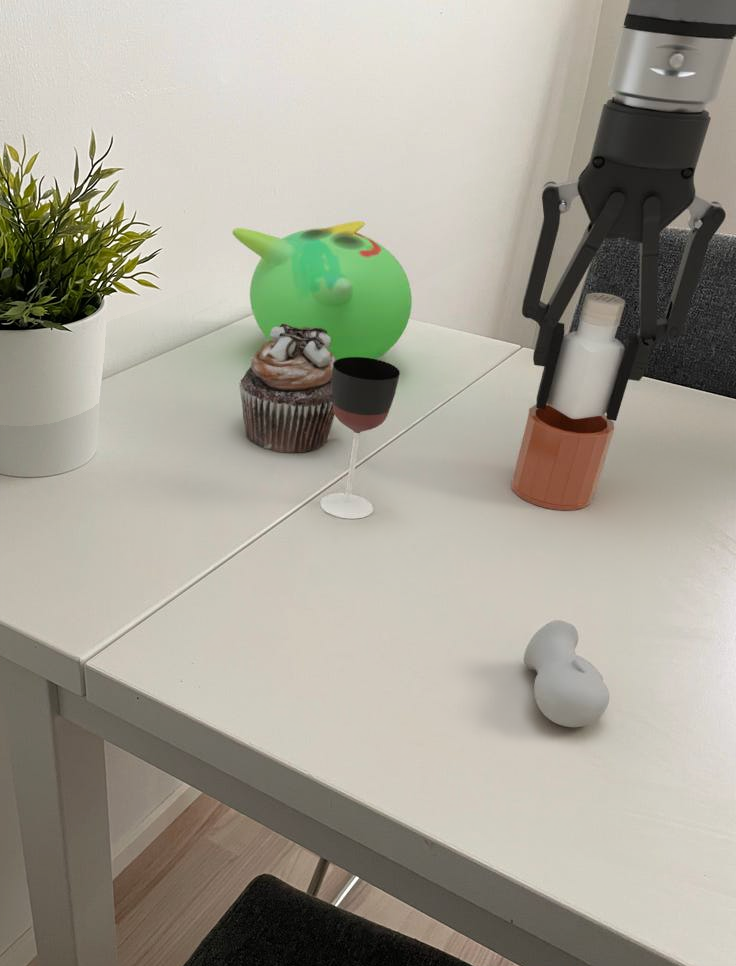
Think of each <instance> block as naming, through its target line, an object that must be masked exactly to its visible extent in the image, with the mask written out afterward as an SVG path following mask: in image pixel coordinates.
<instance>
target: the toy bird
mask: <svg viewBox="0 0 736 966" xmlns="http://www.w3.org/2000/svg"><path fill="white" fill-rule="evenodd" d="M365 225H366V222H365V221H350V222H345V223H340V224H337V225H333V226H328V227H317V228H309V229H305V230H299V231H296V232H293V233H291V234H289V235H287V236H285V237H283V238H280V237H277V236H273V235H270V234H266V233H263V232H259V231H256V230H251V229H248V228H241V227H239V228H234V229H233V230H232V235H233V236H234V238H236V240H237V241H239V242H240V243H241V244H243V245H244V246H245V247H246V248H248V249H249V250H251V251H252V252H253V253H255V254H256V255H258V256H259V257H260V259H259V261H258V263H257V264H256V266H255V269H254V271H253V274H252V278H251V281H250V287H249V299H250V308H251V311H252V314H253V318H254V320H255V322H256V324H257V326H258V327H259V329H260V330H261V332H262V334H263V335H264V336H265V337H266V338H267V339H268V341H269V342H271V339H270V333H271V330H272V328H273V327H280V325H281V324H287V325H290V326H291V327H294V328H303V327H308V328H322V329H325V330H327V335H328V336H329V337H330V338H331V342H330V346H329V350H328V351H330V352H331V353H332V354H333V355H334V356H335V358H336V360H338V359H341V358H347V357H364V358H371V359H377V360H378V359H379V358H380V357H382V356H384V354H386V353H387V352H389V351H390V350H391V349H392V348H393V347H394V346H395V345H396V344H397V342H398V341H399V339H400V338H401V337H402V335H403V333H404V332H405V330H406V328H407V325H408V324H409V321H410V316H411V312H412V306H413V302H412V301H413V299H412V297H413V296H412V290H411V285H410V281H409V278H408V276H407V273H406V272H405V269H404V268H403V266H402V265H401V263H400V262H399V260H398V259H397V258H396V257H395V256H394V254H392V252H390V251H389V250H388V249H387V248H386V247H385V246H384V245H382V244H380V243H379V242H378V241H375V240H374V239H372V238H371V237H368V236H366V235H364V234H361V233H359V232H358V231H360V230H361V229H362V228H363V227H364V226H365Z"/></svg>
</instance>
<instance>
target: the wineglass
mask: <svg viewBox="0 0 736 966" xmlns="http://www.w3.org/2000/svg"><path fill="white" fill-rule="evenodd" d="M400 375H401V371H400V369H399V368H398V367H397V366H395V365H393V364H392V363H389V362H387V361H384V360H380V359H378V358H377V359H371V358H364V357H347V358H341V359H338V360H336V361H335V362H334V363H333V372H332V402H333V410H334V414H335V415H334V417H335V418H336V419H337V420H338V421H339V422H340V423H341V424H342V425H343V426H345V427H347V428H349V430H351V431H353V438H352V439H353V441H352V445H351V453H350V460H349V467H348V474H347V480H346V488H345V493H343V492H342V493H341V492H340V493H339V492H338V493H337V492H335V493H330V494H327V495H325V496H323V497H322V498H321V499H320V502H319V505H320V508H321V509H322V510H323V511H324V512H325V513H327V514H329V515H331V516H334V517H337V518H341V519H347V520H348V519H350V520H352V519H353V520H354V519H356V520H357V519H361V518H366V517H368V516H369V515H371V514H372V513H373V512H374V511H373V510H374V506H373V505H372V503H371V502H370V501H368V499H366V498H364V497H362V496H359V495H356V494H352V490H353V482H354V476H355V469H356V463H357V455H358V449H359V443H360V442H359V441H360V437H361V436H360V435H361V433H362V432H365V431H371V430H373V429H375V428H378V427H379V426H381V425H382V424H383V423H384V422H385V421H386V419H387V417H388V415H389V412H390V410H391V408H392V405H393V402H394V399H395V395H396V392H397V387H398V384H399V379H400Z"/></svg>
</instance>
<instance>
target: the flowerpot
mask: <svg viewBox="0 0 736 966" xmlns="http://www.w3.org/2000/svg"><path fill="white" fill-rule="evenodd" d="M614 431H615V422H614V420H608V419H607V415H606V414H604V415H602V416H595V417H588V418H581V419H572V418H569V417H568V416H566V415H564V414H563V413H561V412H559V411H558V410H556V409H554V408H553V407H551V406H549V405H548V404H546V408H545V409H540V408H536V404H533V405H532V406H531V407H529V409H528V411H527V415H526V420H525V423H524V428H523V433H522V436H521V440H520V445H519V449H518V453H517V455H516V456H517V457H516V460H515V465H514V468H513V472H512V478H511V481H510V487H511V489H512V491H513V493H515V494H516V495H517V496H518V497H519V498H521V499H522V500H524V501H526V502H528V503H530V504H533V505H535V506H538V507H542V508H545V509H550V510H556V511H577V510H580V509H584V508H587V507H588V506H589V505H590V504H591V503H592V501H593V498H594V497H595V494H596V491H597V487H598V484H599V481H600V477H601V474H602V471H603V467H604V464H605V461H606V458H607V454H608V452H609V449H610V445H611V442H612V438H613V435H614Z"/></svg>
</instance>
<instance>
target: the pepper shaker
mask: <svg viewBox="0 0 736 966" xmlns="http://www.w3.org/2000/svg"><path fill="white" fill-rule="evenodd" d="M625 305H626V300H625V299H623V298H622V297H620V296H617V295H615V294H614V295H613V294H609V293H604V292H590V293H586V294H585V297H584V301H583V304H582V307H581V308H582V309H581V312H580V315H579V317H578V319H579V322H578V326H577V329H576V331H575V330H574V331H571V332H569V333H566V334H564V337H563V341H562V345H561V349H560V353H559V357H558V360H557V364H556V368H555V372H554V376H553V380H552V384H551V388H550V392H549V396H548V400H547V404H548V405H549V406H551V407H553V408H554V409H556V410H558V411H559V412H561V413H563V414H564V415H566V416H568V417H569V418H572V419H581V418H588V417H595V416H602V415H606V412H607V411H608V407H609V404H610V400H611V397H612V394H613V390H614V387H615V383H616V380H617V376H618V373H619V369H620V366H621V363H622V359H623V356H624V352H625V347H624V343H622V342H621V341H620V340H619V339H618V338H616V335H617V331H618V327H620V325H621V320H622V316H623V312H624V309H625Z"/></svg>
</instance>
